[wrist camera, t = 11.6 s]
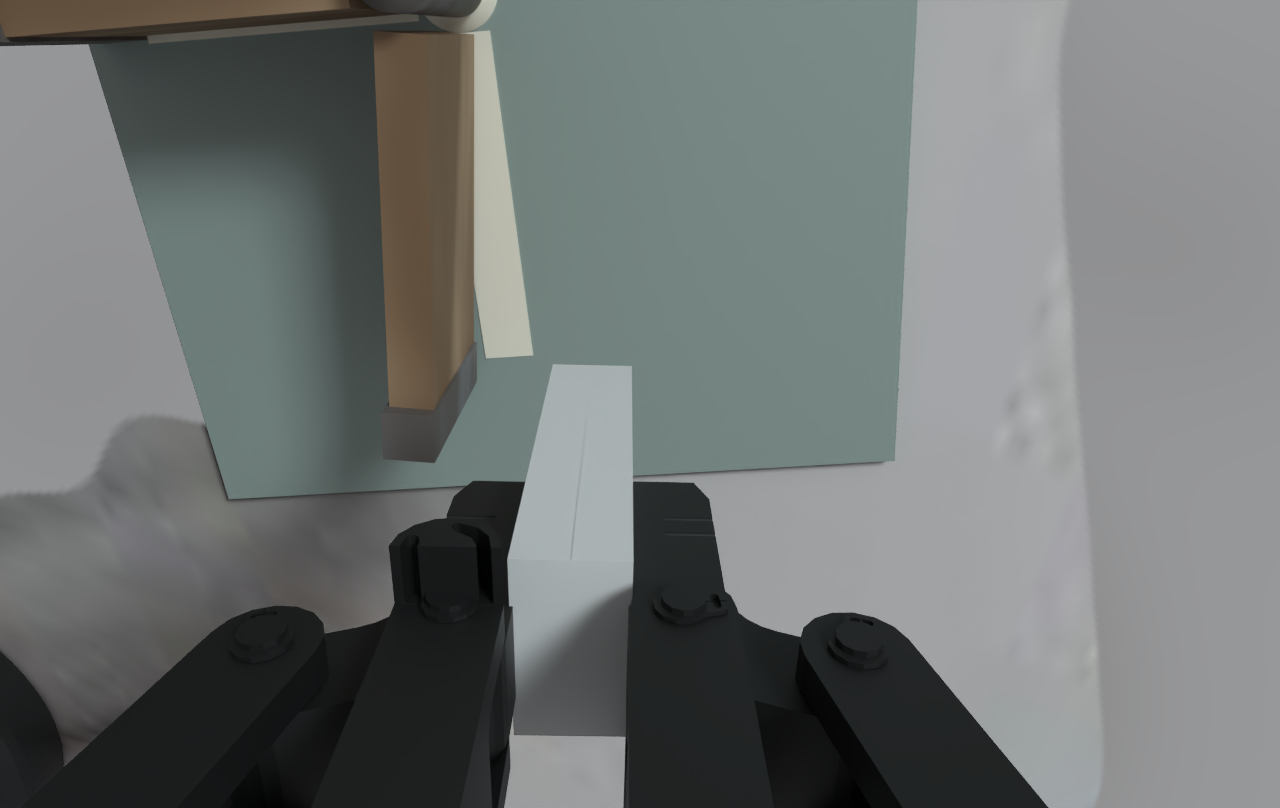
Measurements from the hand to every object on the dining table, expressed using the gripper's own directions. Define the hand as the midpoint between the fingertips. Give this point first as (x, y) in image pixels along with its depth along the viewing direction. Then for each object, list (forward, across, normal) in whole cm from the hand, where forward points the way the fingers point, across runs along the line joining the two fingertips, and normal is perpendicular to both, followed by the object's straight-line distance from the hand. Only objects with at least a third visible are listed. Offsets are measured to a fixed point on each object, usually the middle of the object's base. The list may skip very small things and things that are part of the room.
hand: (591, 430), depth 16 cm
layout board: (+12, -3, +4) cm, 13 cm away
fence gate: (+12, -5, +2) cm, 13 cm away
